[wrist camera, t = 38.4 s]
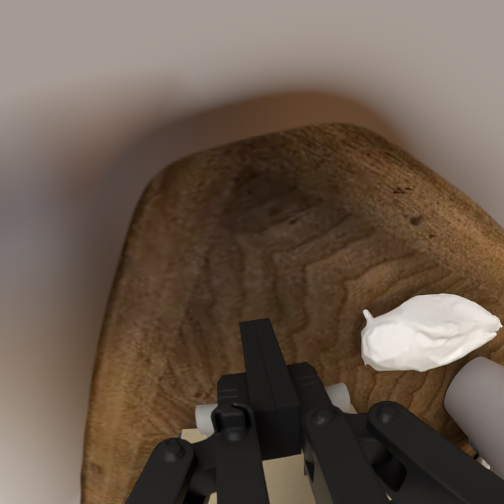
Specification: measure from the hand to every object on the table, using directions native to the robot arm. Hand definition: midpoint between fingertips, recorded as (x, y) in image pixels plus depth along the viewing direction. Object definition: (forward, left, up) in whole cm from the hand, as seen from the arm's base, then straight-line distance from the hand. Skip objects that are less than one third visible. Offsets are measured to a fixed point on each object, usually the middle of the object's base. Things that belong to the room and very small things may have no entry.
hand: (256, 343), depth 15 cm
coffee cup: (+12, +20, -4) cm, 24 cm away
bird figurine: (+3, +11, -4) cm, 12 cm away
